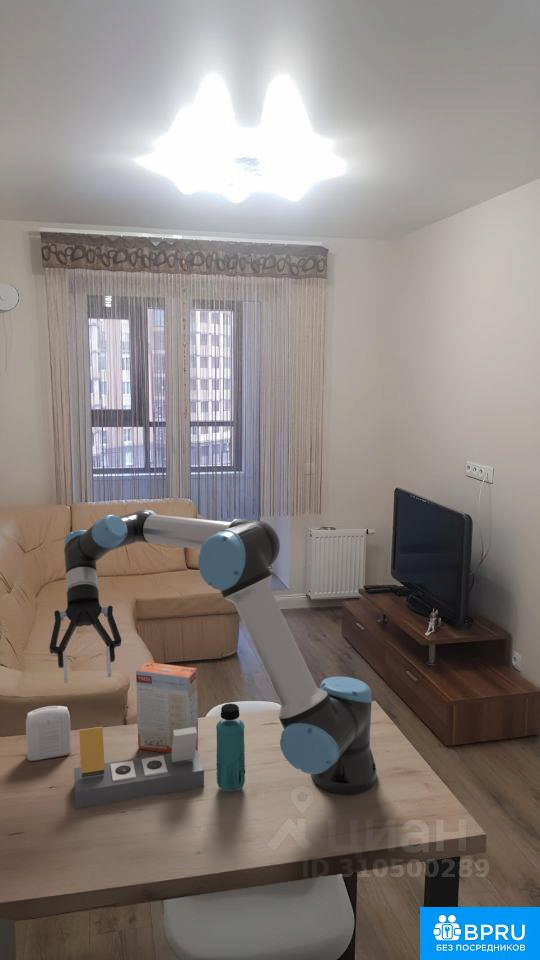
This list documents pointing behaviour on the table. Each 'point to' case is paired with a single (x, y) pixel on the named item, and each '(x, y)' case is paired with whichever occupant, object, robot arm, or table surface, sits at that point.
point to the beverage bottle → (230, 749)
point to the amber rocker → (91, 751)
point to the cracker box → (165, 704)
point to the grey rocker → (184, 744)
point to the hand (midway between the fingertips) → (87, 677)
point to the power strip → (137, 779)
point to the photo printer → (48, 733)
